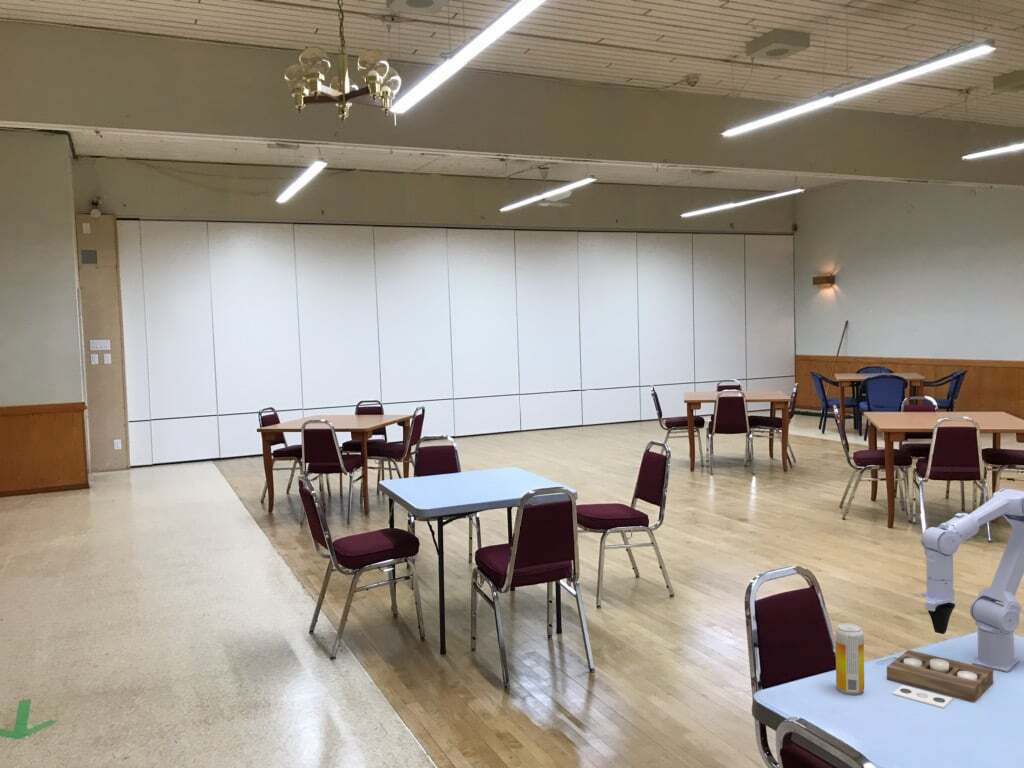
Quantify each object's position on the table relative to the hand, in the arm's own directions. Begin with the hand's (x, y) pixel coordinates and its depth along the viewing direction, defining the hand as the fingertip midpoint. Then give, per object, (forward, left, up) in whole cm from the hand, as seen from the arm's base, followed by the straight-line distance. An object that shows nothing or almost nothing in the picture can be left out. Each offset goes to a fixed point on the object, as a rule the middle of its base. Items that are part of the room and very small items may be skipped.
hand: (940, 632), depth 196 cm
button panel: (+6, +1, -10) cm, 11 cm away
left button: (+5, -5, -9) cm, 12 cm away
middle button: (+5, +1, -8) cm, 10 cm away
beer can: (+24, -12, -10) cm, 29 cm away
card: (+17, +1, -10) cm, 20 cm away
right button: (+5, +7, -9) cm, 13 cm away
